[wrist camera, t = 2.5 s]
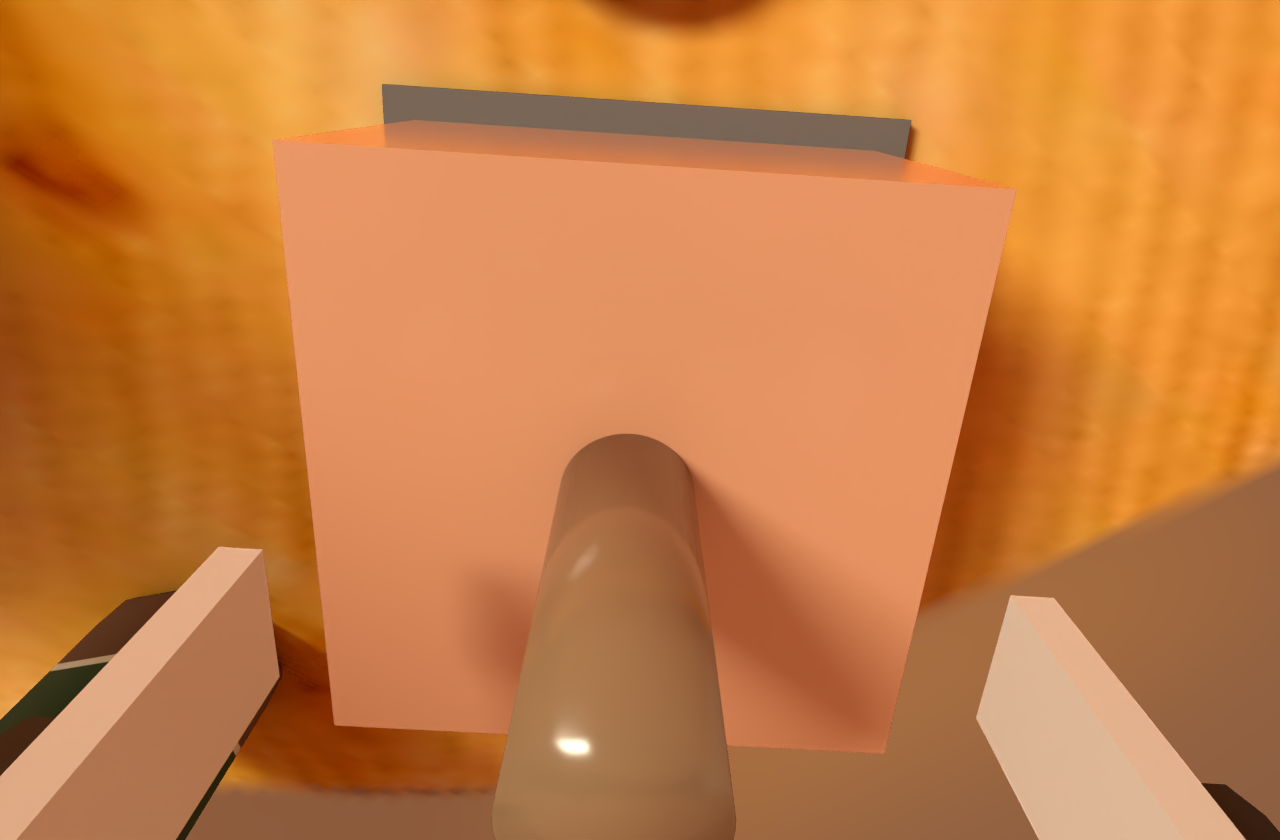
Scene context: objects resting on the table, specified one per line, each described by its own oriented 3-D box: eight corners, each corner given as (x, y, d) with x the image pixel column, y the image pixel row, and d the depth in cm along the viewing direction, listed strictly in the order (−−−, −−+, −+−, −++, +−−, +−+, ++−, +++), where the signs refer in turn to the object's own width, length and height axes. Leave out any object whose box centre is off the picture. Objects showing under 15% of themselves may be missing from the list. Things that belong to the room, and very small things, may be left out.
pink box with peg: (431, 524, 32) (135, 1135, 13) (414, 119, 26) (-148, 199, 8) (809, 546, 32) (1035, 1172, 14) (875, 150, 26) (1422, 299, 8)
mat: (410, 538, 33) (407, 545, 32) (386, 84, 26) (381, 84, 26) (828, 562, 33) (830, 569, 32) (906, 119, 26) (911, 120, 26)
